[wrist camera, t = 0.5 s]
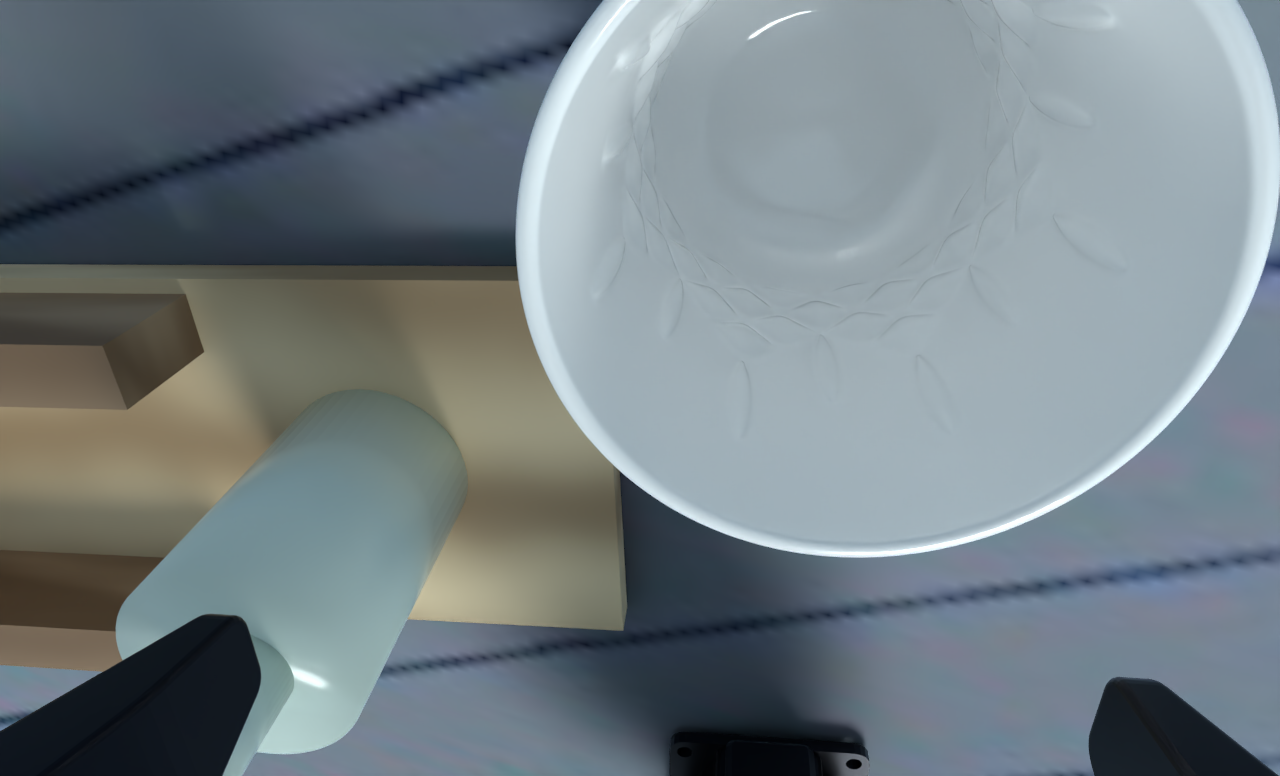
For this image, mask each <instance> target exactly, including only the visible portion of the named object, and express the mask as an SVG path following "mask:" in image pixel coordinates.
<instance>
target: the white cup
mask: <svg viewBox="0 0 1280 776" xmlns="http://www.w3.org/2000/svg"><path fill="white" fill-rule="evenodd" d="M1279 190H1280V132H1279V122H1278V114H1277V108H1276V102H1275V97H1274V92H1273V88H1272V84H1271V80H1270V76H1269V72H1268V69H1267V66H1266V63H1265V60H1264V57H1263V54H1262V51H1261V48H1260V46H1259V43H1258V41H1257V38H1256V36H1255V34H1254V32H1253V29H1252V27H1251V25H1250V23H1249V21H1248V19H1247V17H1246V15H1245V13H1244V11H1243V9H1242V8H1241V6H1240V4H1239V2H1238V1H1237V0H603V1H602V2H601V4H600V5H599V6H598V7H597V9H596V10H595V11H594V13H593V14H592V15H591V17H590V18H589V19H588V21H587V22H586V24H585V25H584V26H583V28H582V29H581V31H580V32H579V34H578V35H577V37H576V38H575V40H574V42H573V43H572V45H571V46H570V48H569V50H568V52H567V53H566V55H565V57H564V58H563V60H562V62H561V64H560V66H559V68H558V69H557V71H556V73H555V75H554V77H553V79H552V81H551V84H550V86H549V88H548V90H547V92H546V95H545V97H544V99H543V102H542V104H541V107H540V109H539V112H538V115H537V117H536V120H535V123H534V126H533V129H532V132H531V135H530V139H529V142H528V146H527V150H526V154H525V158H524V162H523V167H522V172H521V178H520V184H519V191H518V199H517V210H516V232H515V240H516V262H517V273H518V281H519V288H520V294H521V299H522V304H523V308H524V312H525V317H526V320H527V324H528V327H529V331H530V334H531V337H532V340H533V343H534V346H535V348H536V351H537V353H538V356H539V358H540V361H541V363H542V365H543V368H544V370H545V372H546V374H547V376H548V378H549V380H550V382H551V384H552V386H553V388H554V390H555V391H556V393H557V395H558V397H559V398H560V400H561V402H562V403H563V405H564V406H565V408H566V409H567V411H568V413H569V414H570V415H571V417H572V418H573V420H574V421H575V422H576V424H577V425H578V426H579V428H580V429H581V430H582V432H583V433H584V434H585V435H586V437H587V438H588V439H589V440H590V441H591V442H592V444H593V445H594V446H595V447H596V448H597V449H598V450H599V451H600V452H601V453H602V454H603V455H604V456H605V457H606V458H607V459H608V460H609V461H610V462H611V463H612V464H613V465H614V466H615V467H616V468H617V469H618V470H619V471H620V472H621V473H623V474H624V475H625V476H626V477H627V478H629V479H630V480H631V481H632V482H633V483H635V484H636V485H637V486H639V487H640V488H641V489H643V490H644V491H645V492H647V493H648V494H650V495H651V496H653V497H654V498H655V499H657V500H659V501H660V502H662V503H663V504H665V505H666V506H668V507H670V508H672V509H673V510H675V511H677V512H679V513H680V514H682V515H684V516H686V517H688V518H690V519H692V520H694V521H696V522H698V523H700V524H702V525H705V526H707V527H709V528H711V529H714V530H716V531H719V532H721V533H724V534H727V535H729V536H732V537H735V538H738V539H741V540H744V541H748V542H751V543H754V544H758V545H762V546H766V547H770V548H774V549H779V550H784V551H789V552H795V553H802V554H809V555H818V556H830V557H886V556H898V555H907V554H915V553H922V552H928V551H933V550H939V549H943V548H948V547H952V546H957V545H961V544H965V543H968V542H972V541H975V540H979V539H982V538H985V537H988V536H991V535H994V534H997V533H1000V532H1003V531H1006V530H1008V529H1011V528H1013V527H1016V526H1018V525H1021V524H1023V523H1026V522H1028V521H1030V520H1033V519H1035V518H1037V517H1039V516H1041V515H1043V514H1045V513H1047V512H1049V511H1051V510H1053V509H1055V508H1057V507H1059V506H1061V505H1063V504H1065V503H1067V502H1068V501H1070V500H1072V499H1074V498H1075V497H1077V496H1079V495H1080V494H1082V493H1084V492H1085V491H1087V490H1088V489H1090V488H1092V487H1093V486H1095V485H1096V484H1098V483H1099V482H1101V481H1102V480H1103V479H1105V478H1106V477H1108V476H1109V475H1111V474H1112V473H1113V472H1115V471H1116V470H1117V469H1119V468H1120V467H1121V466H1123V465H1124V464H1125V463H1126V462H1128V461H1129V460H1130V459H1131V458H1133V457H1134V456H1135V455H1136V454H1137V453H1139V452H1140V451H1141V450H1142V449H1143V448H1144V447H1146V446H1147V445H1148V444H1149V443H1150V442H1151V441H1152V440H1153V439H1154V438H1155V437H1156V436H1157V435H1158V434H1159V433H1161V432H1162V431H1163V430H1164V429H1165V428H1166V427H1167V426H1168V424H1169V423H1170V422H1171V421H1172V420H1173V419H1174V418H1175V417H1176V416H1177V415H1178V414H1179V413H1180V412H1181V410H1182V409H1183V408H1184V407H1185V406H1186V405H1187V404H1188V402H1189V401H1190V400H1191V399H1192V398H1193V396H1194V395H1195V394H1196V393H1197V391H1198V390H1199V389H1200V387H1201V386H1202V385H1203V383H1204V382H1205V381H1206V379H1207V378H1208V377H1209V375H1210V374H1211V372H1212V371H1213V369H1214V368H1215V366H1216V365H1217V364H1218V362H1219V360H1220V359H1221V357H1222V356H1223V354H1224V353H1225V351H1226V349H1227V348H1228V346H1229V344H1230V342H1231V341H1232V339H1233V337H1234V335H1235V334H1236V332H1237V330H1238V328H1239V326H1240V324H1241V322H1242V320H1243V318H1244V316H1245V314H1246V312H1247V310H1248V307H1249V305H1250V303H1251V301H1252V298H1253V296H1254V293H1255V291H1256V288H1257V286H1258V283H1259V280H1260V278H1261V275H1262V272H1263V269H1264V266H1265V262H1266V259H1267V256H1268V252H1269V248H1270V244H1271V240H1272V236H1273V231H1274V226H1275V221H1276V215H1277V208H1278V200H1279Z"/></svg>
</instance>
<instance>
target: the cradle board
mask: <svg viewBox="0 0 1280 776" xmlns="http://www.w3.org/2000/svg"><path fill="white" fill-rule="evenodd" d="M354 389H363V390H374V391H379V392H384V393H387V394H390V395H394V396H397V397H399V398H402V399H404V400H406V401H408V402H410V403H412V404H414V405H416V406H417V407H419V408H421V409H422V410H424V411H425V412H426V413H428V414H429V415H431V416H432V417H433V418H434V419H435V420H436V421H437V422H439V423H440V424H441V425H442V426H443V428H444V429H445V430H446V431H447V432H448V433H449V434H450V436H451V437H452V439H453V440H454V441H455V443H456V445H457V447H458V448H459V450H460V452H461V454H462V457H463V460H464V462H465V466H466V470H467V477H468V489H467V495H466V500H465V503H464V505H463V507H462V510H461V512H460V514H459V516H458V518H457V520H456V522H455V524H454V526H453V528H452V530H451V532H450V534H449V536H448V538H447V540H446V542H445V544H444V546H443V548H442V550H441V552H440V554H439V556H438V558H437V560H436V562H435V564H434V566H433V568H432V570H431V572H430V574H429V576H428V578H427V580H426V582H425V585H424V587H423V589H422V591H421V593H420V595H419V597H418V599H417V601H416V603H415V605H414V607H413V609H412V611H411V613H410V615H409V617H408V619H415V620H433V621H452V622H470V623H488V624H507V625H525V626H544V627H562V628H581V629H599V630H617V631H623V629H624V623H625V617H626V611H627V593H626V575H625V558H624V540H623V522H622V504H621V487H620V471H619V470H618V469H617V468H616V467H615V466H614V465H613V464H612V463H611V462H610V461H609V460H608V459H607V458H606V457H605V456H604V455H603V454H602V453H601V452H600V451H599V450H598V449H597V448H596V447H595V446H594V445H593V444H592V442H591V441H590V440H589V439H588V438H587V437H586V435H585V434H584V433H583V432H582V430H581V429H580V428H579V426H578V425H577V424H576V422H575V421H574V420H573V418H572V417H571V415H570V414H569V413H568V411H567V409H566V408H565V406H564V405H563V403H562V402H561V400H560V398H559V397H558V395H557V393H556V391H555V390H554V388H553V386H552V384H551V382H550V380H549V378H548V376H547V374H546V372H545V370H544V368H543V365H542V363H541V361H540V358H539V356H538V353H537V351H536V348H535V346H534V343H533V340H532V337H531V334H530V331H529V327H528V324H527V320H526V317H525V312H524V308H523V304H522V299H521V294H520V288H519V281H518V273H517V266H333V265H68V264H0V665H10V666H25V667H41V668H56V669H72V670H87V671H103V672H104V671H105V670H107V669H109V668H110V667H112V666H114V665H116V664H117V663H119V662H121V661H122V658H121V655H120V653H119V650H118V646H117V641H116V621H117V616H118V614H119V611H120V608H121V606H122V605H123V603H124V602H125V600H126V599H127V597H128V596H129V595H130V594H131V593H132V592H133V591H134V590H135V589H136V588H137V587H138V586H139V585H140V583H141V582H142V581H143V580H144V579H145V578H146V577H147V576H148V575H149V574H150V573H151V572H152V571H153V570H154V569H155V568H156V566H157V565H158V564H159V563H160V562H161V561H162V560H163V559H164V558H165V557H166V556H167V555H168V554H169V553H170V552H171V551H172V550H173V548H174V547H175V546H176V545H177V544H178V543H179V542H180V541H181V540H182V539H183V538H184V537H185V536H186V535H187V534H188V533H189V531H190V530H191V529H192V528H193V527H194V526H195V525H196V524H197V523H198V522H199V521H200V520H201V519H202V518H203V517H204V516H205V514H206V513H207V512H208V511H209V510H210V509H211V508H212V507H213V506H214V505H215V504H216V503H217V502H218V501H219V500H220V499H221V498H222V496H223V495H224V494H225V493H226V492H227V491H228V490H229V489H230V488H231V487H232V486H233V485H234V484H235V483H236V482H237V481H238V479H239V478H240V477H241V476H242V475H243V474H244V473H245V472H246V471H247V470H248V469H249V468H250V467H251V466H252V465H253V464H254V463H255V461H256V460H257V459H258V458H259V457H260V456H261V455H262V454H263V453H264V452H265V451H266V450H267V449H268V448H269V447H270V446H271V444H272V443H273V442H274V441H275V440H276V439H277V438H278V437H279V436H280V435H281V434H282V433H283V432H284V431H285V430H286V429H287V427H288V426H289V425H290V424H291V423H292V422H293V421H294V420H295V419H296V418H297V417H298V416H299V415H300V414H301V413H302V412H303V411H304V410H305V409H306V408H307V407H308V406H309V405H310V404H311V403H313V402H314V401H316V400H317V399H319V398H321V397H323V396H325V395H328V394H331V393H334V392H338V391H344V390H354Z"/></svg>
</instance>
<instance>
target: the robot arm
mask: <svg viewBox="0 0 1280 776" xmlns="http://www.w3.org/2000/svg"><path fill="white" fill-rule="evenodd" d="M260 684H261V668H260V664H259V661H258V658H257V655H256V651H255V648H254V645H253V642H252V638H251V635H250V632H249V629H248V626H247V623H246V622H245V621H244V620H243V619H242V618H241V617H239V616H237V615H224V614H204V615H201V616H199V617H197V618H195V619H193V620H191V621H190V622H188V623H186V624H185V625H183V626H181V627H179V628H178V629H176V630H174V631H172V632H171V633H169V634H167V635H166V636H164V637H162V638H160V639H159V640H157V641H155V642H153V643H152V644H150V645H148V646H147V647H145V648H143V649H141V650H140V651H138V652H136V653H135V654H133V655H131V656H129V657H128V658H126V659H124V660H122V661H121V662H119V663H117V664H116V665H114V666H112V667H110V668H109V669H107V670H105V671H104V672H102V673H100V674H98V675H97V676H95V677H93V678H91V679H90V680H88V681H86V682H85V683H83V684H81V685H79V686H78V687H76V688H74V689H73V690H71V691H69V692H67V693H66V694H64V695H62V696H60V697H59V698H57V699H55V700H54V701H52V702H50V703H48V704H47V705H45V706H43V707H41V708H40V709H38V710H36V711H35V712H33V713H31V714H29V715H28V716H26V717H24V718H22V719H21V720H19V721H17V722H16V723H14V724H12V725H10V726H9V727H7V728H5V729H4V730H2V731H0V776H223V774H224V771H225V769H226V767H227V765H228V762H229V760H230V758H231V755H232V753H233V751H234V748H235V746H236V744H237V741H238V739H239V737H240V734H241V732H242V730H243V727H244V725H245V723H246V720H247V718H248V716H249V713H250V711H251V709H252V706H253V704H254V702H255V699H256V697H257V695H258V692H259V688H260ZM1089 755H1090V760H1091V764H1092V768H1093V772H1094V775H1095V776H1278V775H1277V774H1276V773H1275V772H1273V771H1272V770H1271V769H1270V768H1268V767H1267V766H1266V765H1265V764H1263V763H1262V762H1261V761H1260V760H1258V759H1257V758H1256V757H1254V756H1253V755H1252V754H1251V753H1249V752H1248V751H1247V750H1246V749H1244V748H1243V747H1242V746H1241V745H1239V744H1238V743H1237V742H1236V741H1234V740H1233V739H1232V738H1231V737H1229V736H1228V735H1227V734H1226V733H1224V732H1223V731H1222V730H1220V729H1219V728H1218V727H1217V726H1215V725H1214V724H1213V723H1212V722H1210V721H1209V720H1208V719H1207V718H1205V717H1204V716H1203V715H1202V714H1200V713H1199V712H1198V711H1197V710H1195V709H1194V708H1193V707H1192V706H1190V705H1189V704H1188V703H1187V702H1185V701H1184V700H1183V699H1181V698H1180V697H1179V696H1178V695H1176V694H1175V693H1174V692H1173V691H1171V690H1170V689H1169V688H1168V687H1166V686H1165V685H1163V684H1162V683H1160V682H1158V681H1155V680H1152V679H1140V678H1126V677H1116V678H1112V679H1111V680H1110V681H1109V682H1108V683H1107V684H1106V687H1105V689H1104V692H1103V695H1102V698H1101V701H1100V704H1099V707H1098V710H1097V713H1096V716H1095V719H1094V722H1093V725H1092V728H1091V731H1090V735H1089ZM869 767H870V764H869V758H868V751H867V749H866V748H865V747H863V746H862V745H860V744H855V743H842V742H828V741H813V740H798V739H783V738H769V737H754V736H739V735H724V734H710V733H695V732H679V733H676V734H674V735H673V736H672V737H671V741H670V776H868V773H869Z"/></svg>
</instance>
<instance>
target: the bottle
mask: <svg viewBox="0 0 1280 776" xmlns="http://www.w3.org/2000/svg"><path fill="white" fill-rule="evenodd" d="M467 489H468V477H467V470H466V466H465V462H464V460H463V457H462V454H461V452H460V450H459V448H458V447H457V445H456V443H455V441H454V440H453V439H452V437H451V436H450V434H449V433H448V432H447V431H446V430H445V429H444V428H443V426H442V425H441V424H440V423H439V422H437V421H436V420H435V419H434V418H433V417H432V416H431V415H429V414H428V413H426V412H425V411H424V410H422V409H421V408H419V407H417V406H416V405H414V404H412V403H410V402H408V401H406V400H404V399H402V398H399V397H397V396H394V395H390V394H387V393H384V392H379V391H374V390H363V389H354V390H344V391H338V392H334V393H331V394H328V395H325V396H323V397H321V398H319V399H317V400H316V401H314V402H313V403H311V404H310V405H309V406H308V407H307V408H306V409H305V410H304V411H303V412H302V413H301V414H300V415H299V416H298V417H297V418H296V419H295V420H294V421H293V422H292V423H291V424H290V425H289V426H288V427H287V429H286V430H285V431H284V432H283V433H282V434H281V435H280V436H279V437H278V438H277V439H276V440H275V441H274V442H273V443H272V444H271V446H270V447H269V448H268V449H267V450H266V451H265V452H264V453H263V454H262V455H261V456H260V457H259V458H258V459H257V460H256V461H255V463H254V464H253V465H252V466H251V467H250V468H249V469H248V470H247V471H246V472H245V473H244V474H243V475H242V476H241V477H240V478H239V479H238V481H237V482H236V483H235V484H234V485H233V486H232V487H231V488H230V489H229V490H228V491H227V492H226V493H225V494H224V495H223V496H222V498H221V499H220V500H219V501H218V502H217V503H216V504H215V505H214V506H213V507H212V508H211V509H210V510H209V511H208V512H207V513H206V514H205V516H204V517H203V518H202V519H201V520H200V521H199V522H198V523H197V524H196V525H195V526H194V527H193V528H192V529H191V530H190V531H189V533H188V534H187V535H186V536H185V537H184V538H183V539H182V540H181V541H180V542H179V543H178V544H177V545H176V546H175V547H174V548H173V550H172V551H171V552H170V553H169V554H168V555H167V556H166V557H165V558H164V559H163V560H162V561H161V562H160V563H159V564H158V565H157V566H156V568H155V569H154V570H153V571H152V572H151V573H150V574H149V575H148V576H147V577H146V578H145V579H144V580H143V581H142V582H141V583H140V585H139V586H138V587H137V588H136V589H135V590H134V591H133V592H132V593H131V594H130V595H129V596H128V597H127V599H126V600H125V602H124V603H123V605H122V606H121V608H120V611H119V614H118V616H117V621H116V641H117V646H118V650H119V653H120V655H121V658H122V660H124V659H126V658H128V657H129V656H131V655H133V654H135V653H136V652H138V651H140V650H141V649H143V648H145V647H147V646H148V645H150V644H152V643H153V642H155V641H157V640H159V639H160V638H162V637H164V636H166V635H167V634H169V633H171V632H172V631H174V630H176V629H178V628H179V627H181V626H183V625H185V624H186V623H188V622H190V621H191V620H193V619H195V618H197V617H199V616H201V615H204V614H224V615H237V616H239V617H241V618H242V619H243V620H244V621H245V622H246V623H247V626H248V629H249V632H250V635H251V638H252V642H253V645H254V648H255V651H256V655H257V658H258V661H259V664H260V668H261V684H260V688H259V692H258V695H257V697H256V699H255V702H254V704H253V706H252V709H251V711H250V713H249V716H248V718H247V720H246V723H245V725H244V727H243V730H242V732H241V734H240V737H239V739H238V741H237V744H236V746H235V748H234V751H233V753H232V755H231V758H230V760H229V762H228V765H227V767H226V769H225V771H224V774H223V776H242V775H243V773H244V772H245V770H246V768H247V767H248V765H249V763H250V762H251V760H252V758H253V757H254V755H255V753H256V752H262V753H270V754H296V753H304V752H309V751H314V750H317V749H320V748H324V747H326V746H328V745H330V744H332V743H335V742H336V741H338V740H339V739H341V738H342V737H343V736H345V735H346V734H347V733H348V732H349V731H350V730H351V729H352V727H353V726H354V724H355V723H356V722H357V720H358V718H359V716H360V714H361V712H362V710H363V708H364V706H365V704H366V702H367V700H368V698H369V696H370V694H371V692H372V690H373V688H374V686H375V684H376V682H377V680H378V678H379V675H380V673H381V671H382V669H383V667H384V665H385V663H386V661H387V659H388V657H389V655H390V653H391V651H392V649H393V647H394V645H395V643H396V641H397V639H398V637H399V635H400V633H401V631H402V629H403V627H404V625H405V623H406V621H407V619H408V617H409V615H410V613H411V611H412V609H413V607H414V605H415V603H416V601H417V599H418V597H419V595H420V593H421V591H422V589H423V587H424V585H425V582H426V580H427V578H428V576H429V574H430V572H431V570H432V568H433V566H434V564H435V562H436V560H437V558H438V556H439V554H440V552H441V550H442V548H443V546H444V544H445V542H446V540H447V538H448V536H449V534H450V532H451V530H452V528H453V526H454V524H455V522H456V520H457V518H458V516H459V514H460V512H461V510H462V507H463V505H464V503H465V500H466V495H467Z"/></svg>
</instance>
